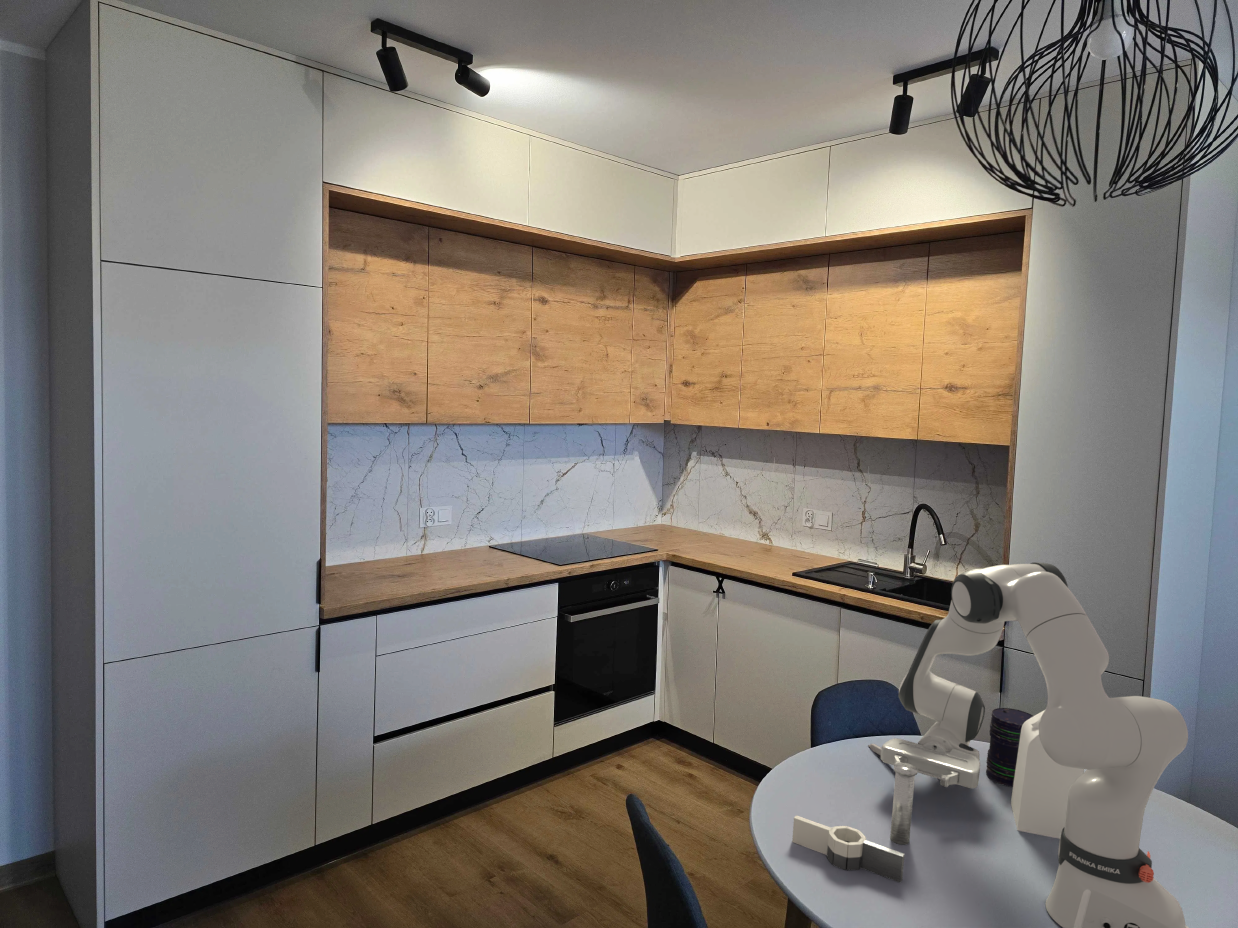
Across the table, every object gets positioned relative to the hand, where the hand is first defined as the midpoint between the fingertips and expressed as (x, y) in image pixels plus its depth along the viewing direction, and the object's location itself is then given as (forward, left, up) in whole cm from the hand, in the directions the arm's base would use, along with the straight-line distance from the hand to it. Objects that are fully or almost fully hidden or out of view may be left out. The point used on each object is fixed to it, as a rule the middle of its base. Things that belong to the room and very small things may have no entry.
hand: (920, 775), depth 176 cm
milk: (-22, -15, -9) cm, 28 cm away
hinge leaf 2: (+2, +26, -9) cm, 28 cm away
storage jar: (-12, -32, -9) cm, 35 cm away
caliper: (+12, -20, -9) cm, 25 cm away
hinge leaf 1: (+10, +26, -9) cm, 29 cm away
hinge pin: (0, +12, -9) cm, 15 cm away
